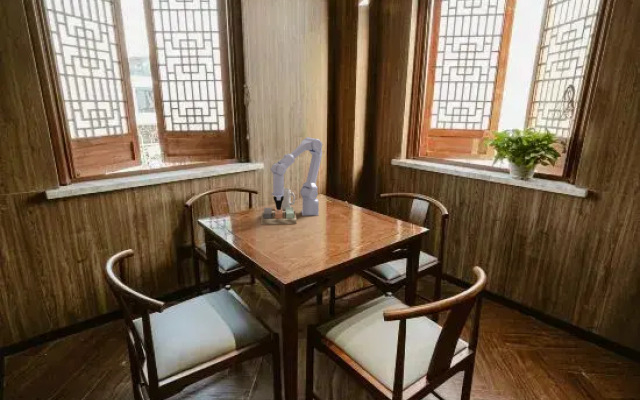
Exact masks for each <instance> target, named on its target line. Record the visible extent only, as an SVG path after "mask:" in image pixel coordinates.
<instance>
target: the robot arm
mask: <svg viewBox="0 0 640 400" xmlns="http://www.w3.org/2000/svg"><path fill="white" fill-rule="evenodd" d="M305 151H309V153H310V154H311V159H310V163H309V168H308V172H307V176H306V181H305V182H303V184H302V187H301V189H300V191H299V194H300V196H301V199H302V210H301V215H302V216H319V199H318V198H317V197H318V188H319V187H318V186H317V185H316V184H317V180H318V174H319V169H320V167H321V166H320V165H321V161H322V156H323V142H322V141H321V140H320V139H319V138H313V137H305V138H304V139H303V140H301V143H300V144H299V145H298V146H297V147H296V148H295V149H294V150H293V151H292V152H291V153H287V154H284V155H283V157H282V158H281V159H279V160H278V161H277V162H276V163H275V162H274V164H272V166H271V168H270V171H271V173H272V181H273V182H272V183H273V184H272V192H271V194H270V195H271V196H272V197H273V201H274V203H275V208H276V209H277V210H281V205H282V201H283V199H284V196H283V195H284V188H285V182H284V181H285V179H284V178H285V176H284V175H285V174H286V172H287V169H288V168H289V167H291V166H292V165H293V164H294V163H295V159H297V158H298V157H299V156H301V154H303V153H304V152H305Z"/></svg>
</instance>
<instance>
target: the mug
mask: <svg viewBox="0 0 640 400" xmlns="http://www.w3.org/2000/svg"><path fill="white" fill-rule="evenodd" d="M283 196H284V199H283V201H282V205H281V208H282V211H286V208H287V207H291V206H294V204H295V201H296V195H295V193H294V192H291V188H286V187H284V195H283ZM291 196H292V197H293V200H292V201H291Z"/></svg>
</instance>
